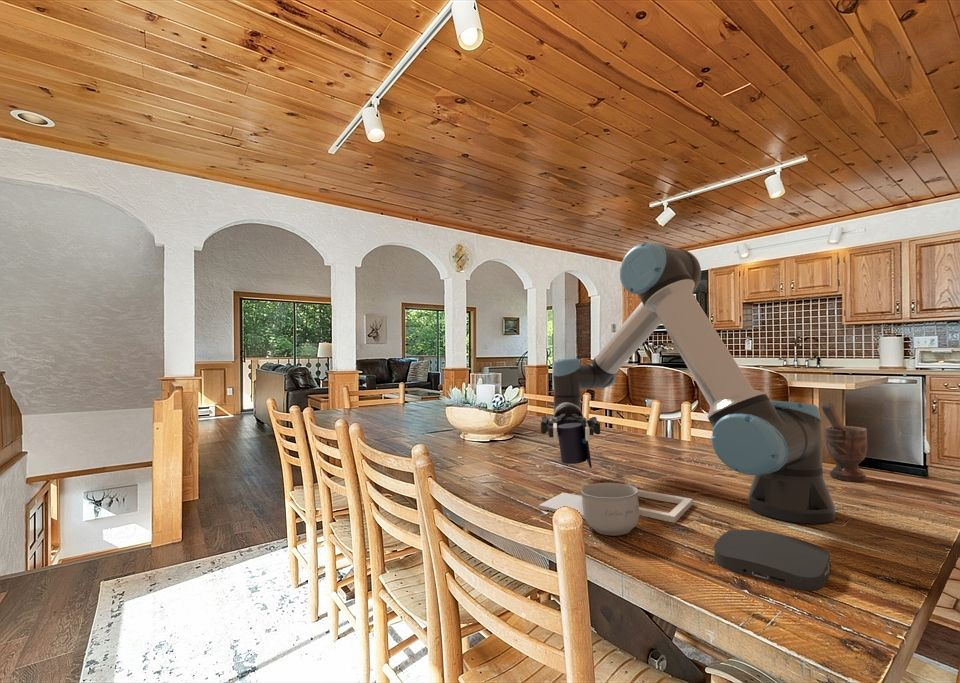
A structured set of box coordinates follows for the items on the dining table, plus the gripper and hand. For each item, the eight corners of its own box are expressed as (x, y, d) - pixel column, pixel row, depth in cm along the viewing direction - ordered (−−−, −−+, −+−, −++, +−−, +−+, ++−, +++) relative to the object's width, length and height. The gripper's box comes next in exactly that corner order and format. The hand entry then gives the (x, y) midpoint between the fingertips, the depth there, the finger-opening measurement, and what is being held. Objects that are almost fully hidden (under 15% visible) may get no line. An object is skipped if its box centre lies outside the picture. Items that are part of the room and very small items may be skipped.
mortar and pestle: (864, 487, 109) (860, 405, 110) (820, 480, 115) (816, 402, 116) (871, 478, 117) (868, 401, 117) (830, 472, 123) (827, 399, 124)
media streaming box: (733, 538, 83) (733, 521, 83) (834, 562, 73) (833, 543, 73) (707, 566, 72) (707, 547, 72) (821, 599, 62) (820, 577, 62)
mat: (606, 504, 101) (606, 501, 101) (584, 519, 93) (584, 515, 93) (563, 495, 108) (563, 492, 108) (538, 508, 100) (538, 505, 100)
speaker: (597, 460, 102) (593, 415, 102) (591, 468, 97) (586, 420, 97) (565, 459, 105) (561, 415, 106) (557, 466, 100) (553, 420, 100)
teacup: (609, 546, 80) (607, 500, 80) (570, 526, 89) (569, 485, 90) (664, 530, 86) (662, 488, 86) (622, 513, 96) (620, 475, 96)
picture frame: (692, 504, 100) (692, 498, 100) (674, 522, 90) (674, 516, 90) (633, 493, 109) (632, 488, 109) (610, 509, 98) (609, 503, 98)
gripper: (606, 432, 117) (618, 452, 94) (532, 432, 120) (526, 451, 97) (605, 403, 117) (617, 417, 94) (531, 403, 120) (526, 416, 98)
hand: (571, 434), depth 96 cm, fingers closed on speaker, 6 cm apart
